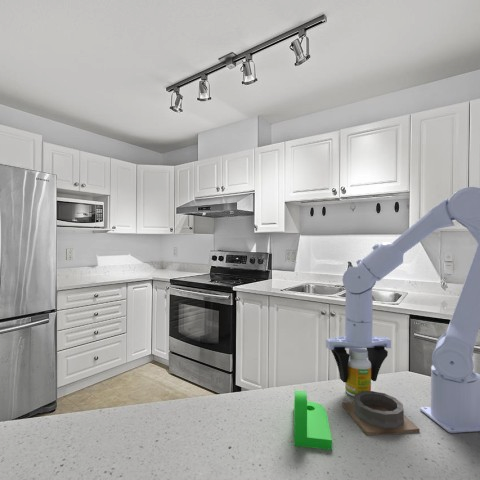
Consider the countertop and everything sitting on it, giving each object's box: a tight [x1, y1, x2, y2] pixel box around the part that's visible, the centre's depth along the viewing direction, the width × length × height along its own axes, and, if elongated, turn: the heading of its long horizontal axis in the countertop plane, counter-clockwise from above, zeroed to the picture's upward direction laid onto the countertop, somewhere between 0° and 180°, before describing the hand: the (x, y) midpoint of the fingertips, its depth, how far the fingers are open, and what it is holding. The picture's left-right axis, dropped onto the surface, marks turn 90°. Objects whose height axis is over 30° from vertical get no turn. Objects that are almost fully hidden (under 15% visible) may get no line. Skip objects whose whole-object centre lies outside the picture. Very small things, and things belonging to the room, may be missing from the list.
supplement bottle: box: [344, 348, 372, 398], centre depth 71 cm, size 5×5×10 cm
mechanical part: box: [293, 389, 333, 450], centre depth 58 cm, size 12×6×8 cm, turn 171°
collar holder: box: [341, 390, 421, 436], centre depth 61 cm, size 10×10×3 cm
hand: (358, 379), depth 71 cm, fingers open, 6 cm apart
